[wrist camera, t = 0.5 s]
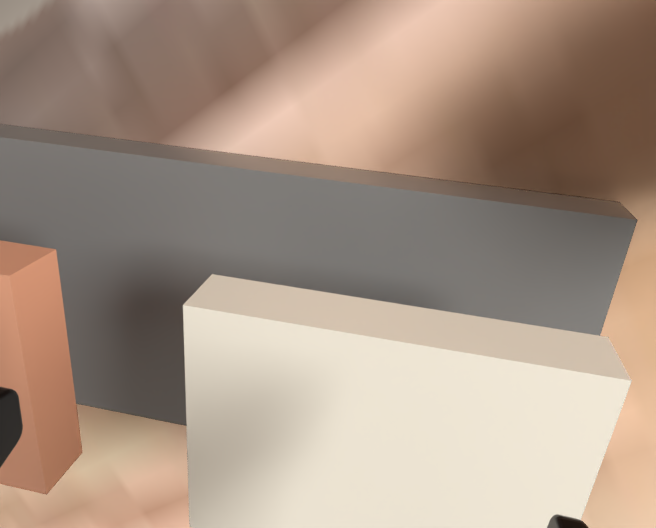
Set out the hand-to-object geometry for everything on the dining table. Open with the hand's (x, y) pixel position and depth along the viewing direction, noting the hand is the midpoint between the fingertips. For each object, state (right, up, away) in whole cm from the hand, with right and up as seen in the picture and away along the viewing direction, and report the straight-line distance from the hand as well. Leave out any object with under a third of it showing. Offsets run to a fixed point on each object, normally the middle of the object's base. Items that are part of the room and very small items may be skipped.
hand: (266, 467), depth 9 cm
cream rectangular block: (+3, -1, +9) cm, 10 cm away
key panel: (-4, +2, +15) cm, 16 cm away
